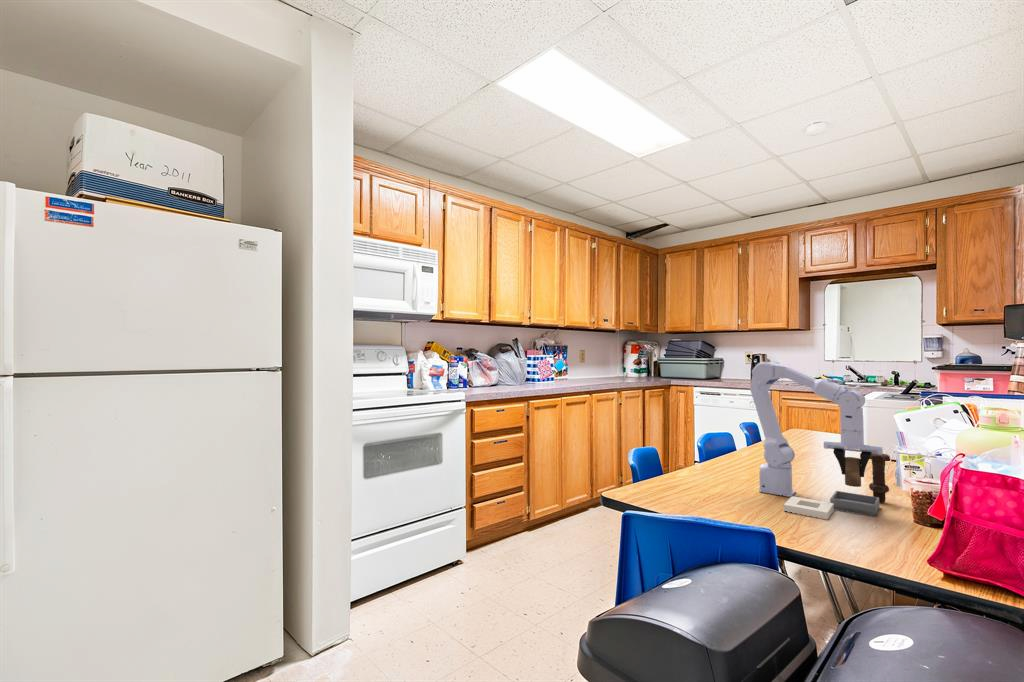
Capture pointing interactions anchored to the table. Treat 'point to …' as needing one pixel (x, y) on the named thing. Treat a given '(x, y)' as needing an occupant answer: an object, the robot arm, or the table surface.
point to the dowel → (852, 471)
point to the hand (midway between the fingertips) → (852, 475)
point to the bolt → (879, 476)
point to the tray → (855, 503)
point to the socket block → (809, 507)
